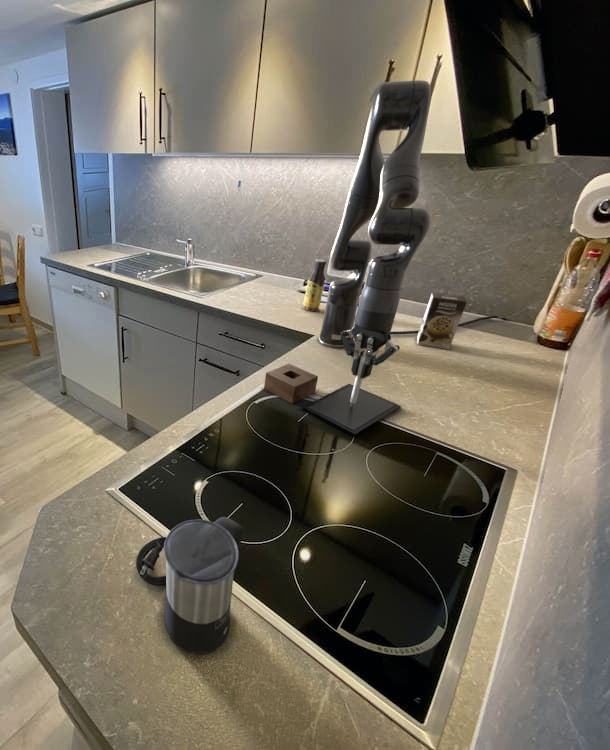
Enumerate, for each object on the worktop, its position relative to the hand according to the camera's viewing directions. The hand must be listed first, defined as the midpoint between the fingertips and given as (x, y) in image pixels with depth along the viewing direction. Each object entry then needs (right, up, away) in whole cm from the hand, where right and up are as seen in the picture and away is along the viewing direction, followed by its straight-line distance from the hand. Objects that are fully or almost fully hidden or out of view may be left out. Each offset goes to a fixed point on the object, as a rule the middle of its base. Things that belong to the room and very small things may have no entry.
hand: (359, 375), depth 99 cm
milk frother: (-46, -33, -38) cm, 68 cm away
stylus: (0, -8, +4) cm, 9 cm away
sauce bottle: (+16, +27, +70) cm, 77 cm away
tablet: (0, -8, +5) cm, 10 cm away
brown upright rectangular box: (+44, +10, +39) cm, 60 cm away
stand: (-12, -4, +13) cm, 19 cm away
